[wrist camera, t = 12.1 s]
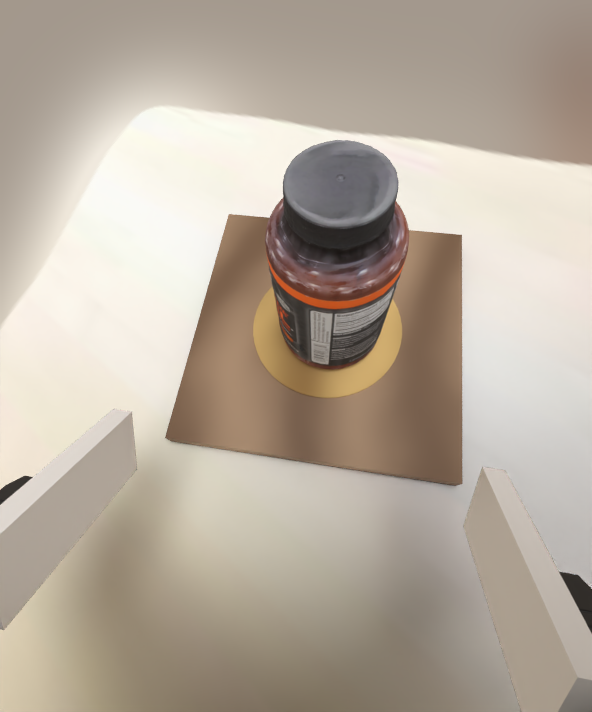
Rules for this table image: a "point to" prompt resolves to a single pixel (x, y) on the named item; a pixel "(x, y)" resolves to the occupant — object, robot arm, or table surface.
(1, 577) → the robot arm
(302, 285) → the supplement bottle
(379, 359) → the walnut board
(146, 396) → the table surface
